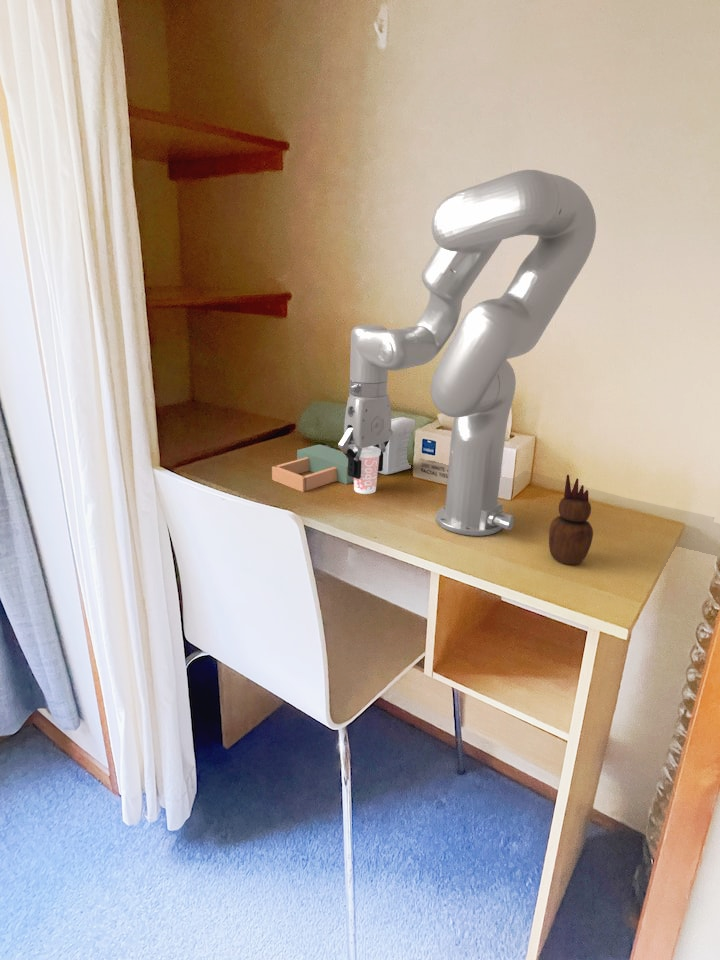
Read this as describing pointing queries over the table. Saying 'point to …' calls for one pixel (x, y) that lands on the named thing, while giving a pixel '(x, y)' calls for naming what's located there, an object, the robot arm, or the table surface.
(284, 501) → the table surface
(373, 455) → the beverage cup
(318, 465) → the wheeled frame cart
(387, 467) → the photo printer
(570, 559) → the wooden figurine
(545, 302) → the robot arm
